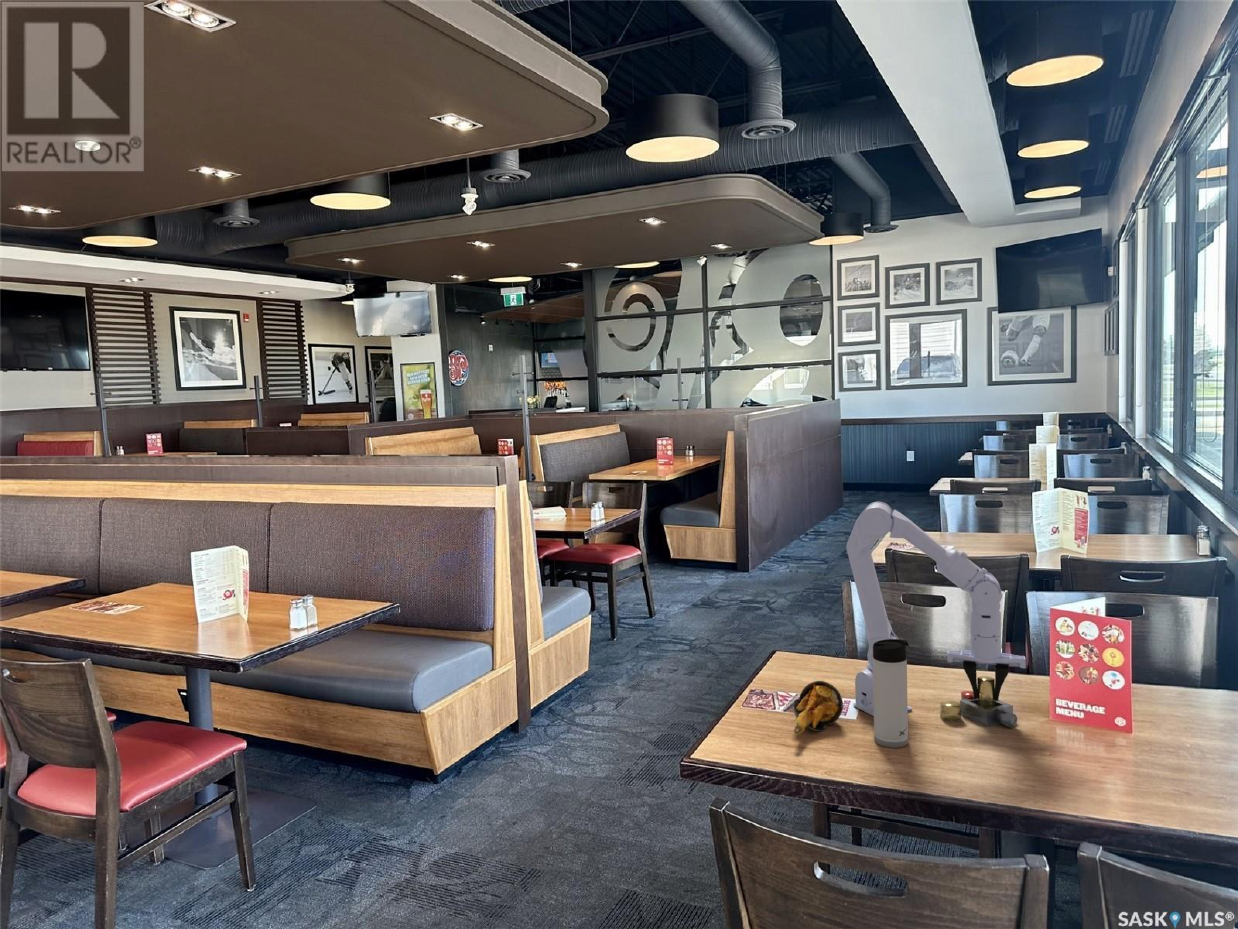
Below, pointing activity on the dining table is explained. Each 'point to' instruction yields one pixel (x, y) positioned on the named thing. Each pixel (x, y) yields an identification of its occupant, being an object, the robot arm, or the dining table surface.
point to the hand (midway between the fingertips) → (986, 698)
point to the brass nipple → (986, 692)
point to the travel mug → (890, 693)
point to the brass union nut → (950, 711)
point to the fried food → (817, 707)
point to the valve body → (987, 711)
